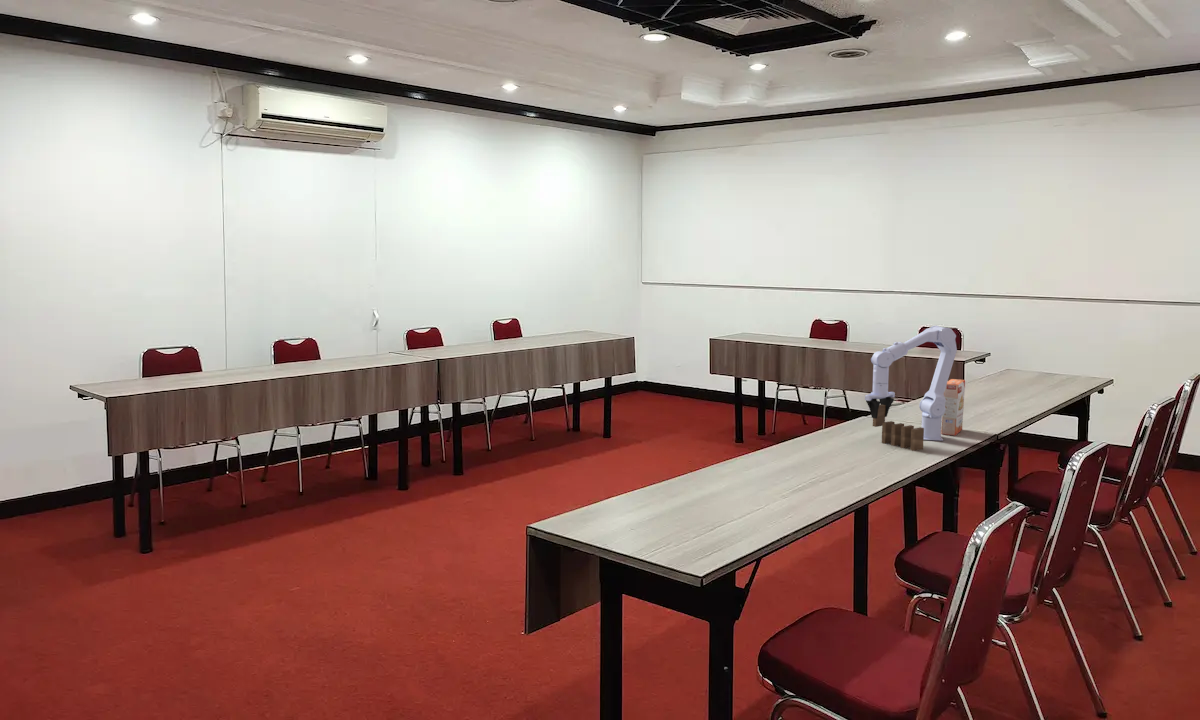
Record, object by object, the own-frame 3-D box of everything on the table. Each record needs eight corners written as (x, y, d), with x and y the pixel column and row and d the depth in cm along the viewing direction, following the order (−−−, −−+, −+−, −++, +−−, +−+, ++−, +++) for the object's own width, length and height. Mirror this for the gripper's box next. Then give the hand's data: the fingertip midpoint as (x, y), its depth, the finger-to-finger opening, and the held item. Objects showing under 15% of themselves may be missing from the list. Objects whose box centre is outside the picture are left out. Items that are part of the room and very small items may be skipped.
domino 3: (890, 445, 323) (891, 424, 322) (899, 443, 325) (900, 423, 324) (894, 446, 321) (895, 425, 320) (903, 444, 324) (904, 423, 323)
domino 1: (884, 425, 331) (885, 405, 330) (875, 426, 328) (876, 406, 327) (881, 424, 332) (882, 404, 331) (872, 426, 330) (873, 405, 329)
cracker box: (956, 436, 337) (959, 384, 334) (940, 434, 340) (943, 383, 337) (963, 429, 348) (966, 379, 345) (947, 428, 351) (950, 378, 349)
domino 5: (910, 450, 315) (911, 428, 314) (919, 448, 318) (920, 427, 316) (914, 450, 314) (914, 429, 313) (923, 449, 316) (923, 428, 315)
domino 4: (900, 447, 319) (901, 426, 318) (909, 445, 321) (910, 425, 320) (904, 448, 318) (904, 427, 316) (913, 446, 320) (913, 425, 319)
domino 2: (881, 442, 327) (882, 422, 325) (890, 441, 329) (891, 421, 328) (884, 443, 325) (885, 423, 324) (893, 442, 328) (894, 421, 327)
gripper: (885, 379, 335) (883, 413, 337) (859, 382, 328) (858, 417, 329) (899, 381, 329) (898, 416, 331) (873, 385, 322) (872, 420, 323)
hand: (879, 417), depth 330 cm, fingers closed on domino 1, 5 cm apart
